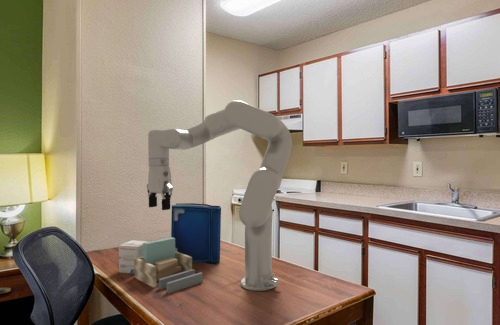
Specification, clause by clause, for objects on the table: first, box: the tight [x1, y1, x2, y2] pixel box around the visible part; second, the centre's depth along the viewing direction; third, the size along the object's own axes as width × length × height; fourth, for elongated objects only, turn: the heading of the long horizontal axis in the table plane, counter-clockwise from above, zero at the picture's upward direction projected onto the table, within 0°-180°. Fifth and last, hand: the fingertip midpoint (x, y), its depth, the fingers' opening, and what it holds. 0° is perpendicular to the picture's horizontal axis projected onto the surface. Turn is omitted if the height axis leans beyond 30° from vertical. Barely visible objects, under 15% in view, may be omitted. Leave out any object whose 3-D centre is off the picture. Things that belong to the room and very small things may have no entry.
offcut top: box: [153, 257, 178, 273], centre depth 123 cm, size 4×8×3 cm, turn 139°
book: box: [170, 202, 222, 264], centre depth 145 cm, size 22×7×25 cm, turn 84°
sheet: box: [143, 236, 175, 265], centre depth 127 cm, size 2×12×13 cm, turn 135°
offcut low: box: [156, 265, 182, 283], centre depth 123 cm, size 4×10×4 cm, turn 135°
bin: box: [134, 251, 193, 289], centre depth 125 cm, size 14×16×8 cm
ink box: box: [118, 239, 148, 275], centre depth 133 cm, size 9×8×12 cm
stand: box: [158, 268, 204, 295], centre depth 117 cm, size 9×15×4 cm, turn 135°
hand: (159, 208), depth 127 cm, fingers open, 9 cm apart
